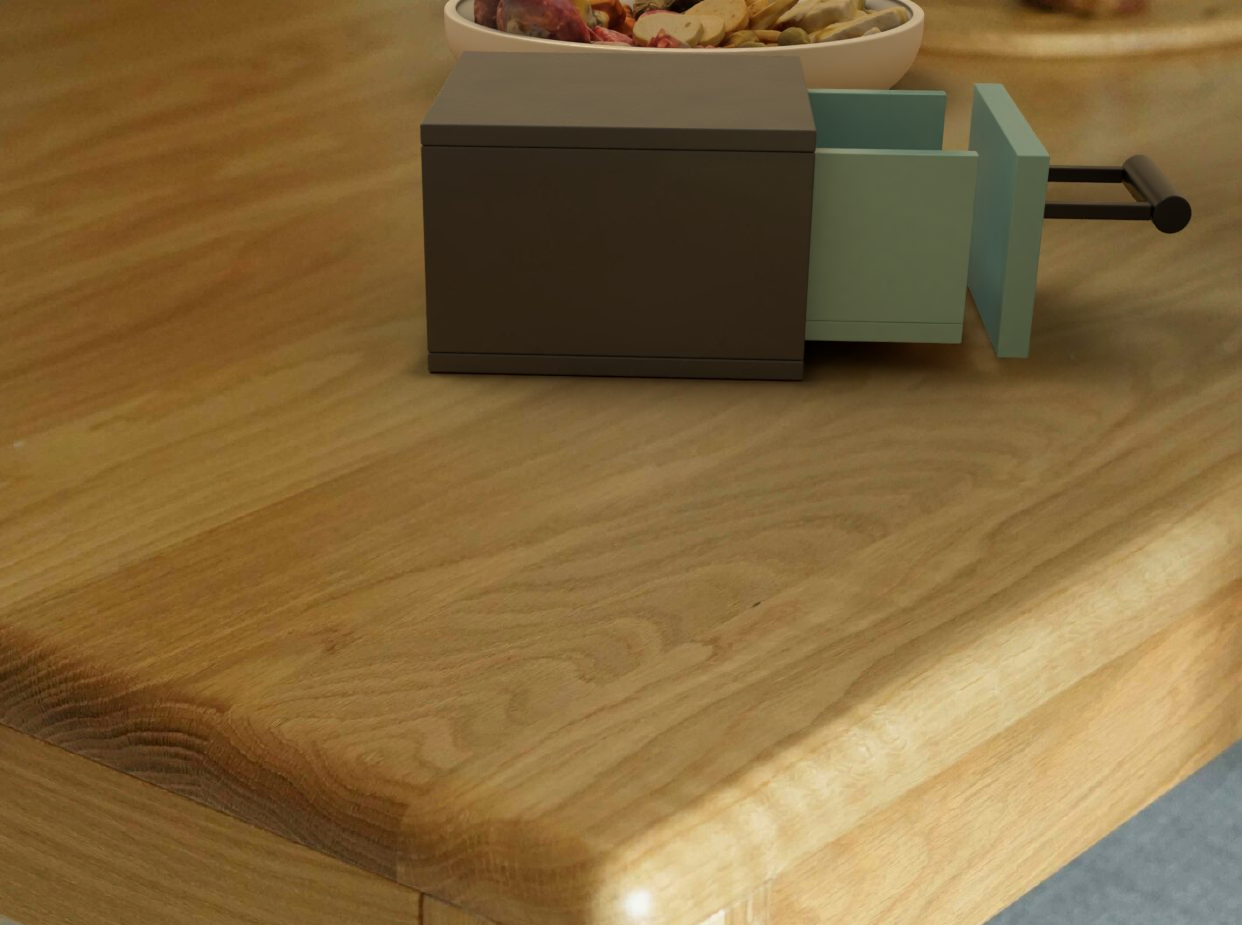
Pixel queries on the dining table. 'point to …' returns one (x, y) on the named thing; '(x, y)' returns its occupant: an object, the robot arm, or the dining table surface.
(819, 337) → the drawer
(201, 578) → the dining table surface
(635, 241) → the cabinet
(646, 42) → the bowl
